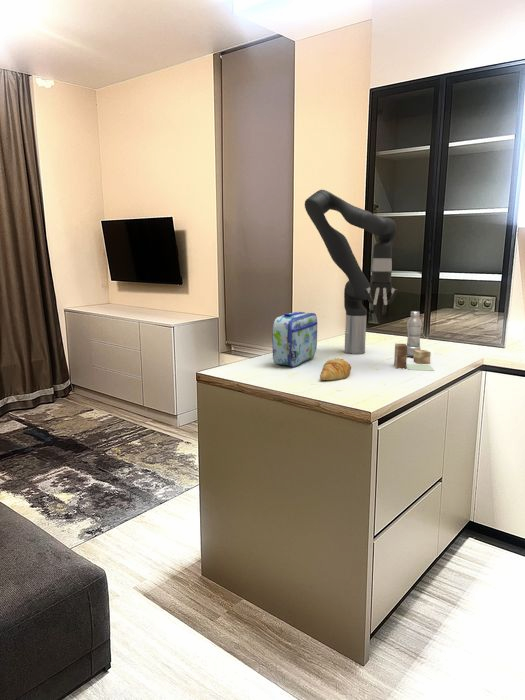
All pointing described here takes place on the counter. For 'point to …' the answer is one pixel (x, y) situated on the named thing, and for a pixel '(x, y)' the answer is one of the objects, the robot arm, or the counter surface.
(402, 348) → the walnut block
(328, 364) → the croissant
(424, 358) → the oak block
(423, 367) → the pad
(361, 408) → the counter surface
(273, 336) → the lunch box
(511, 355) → the counter surface
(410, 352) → the plastic bottle
